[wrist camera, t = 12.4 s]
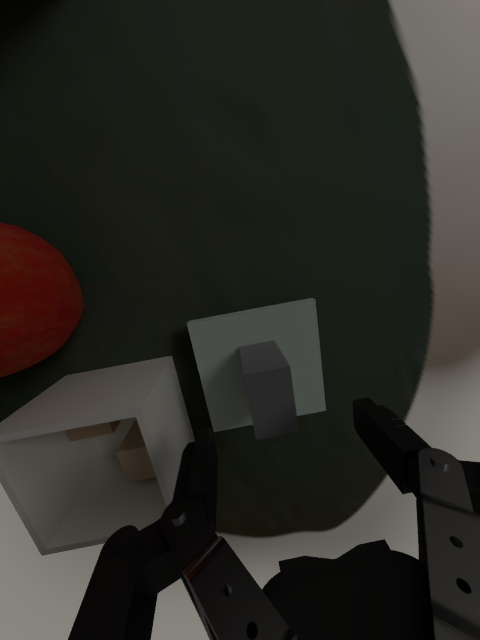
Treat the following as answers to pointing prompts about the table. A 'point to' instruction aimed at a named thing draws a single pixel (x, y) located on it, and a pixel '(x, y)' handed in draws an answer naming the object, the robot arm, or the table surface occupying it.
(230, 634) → the robot arm
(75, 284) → the apple
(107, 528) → the storage box
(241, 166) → the table surface
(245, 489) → the table surface
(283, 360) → the lid
